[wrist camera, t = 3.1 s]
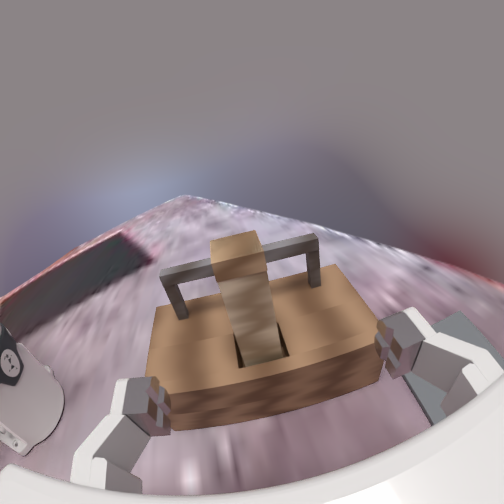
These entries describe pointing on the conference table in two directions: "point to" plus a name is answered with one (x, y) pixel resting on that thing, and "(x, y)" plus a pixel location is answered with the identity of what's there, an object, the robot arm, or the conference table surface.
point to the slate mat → (429, 393)
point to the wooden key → (247, 295)
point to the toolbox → (291, 340)
